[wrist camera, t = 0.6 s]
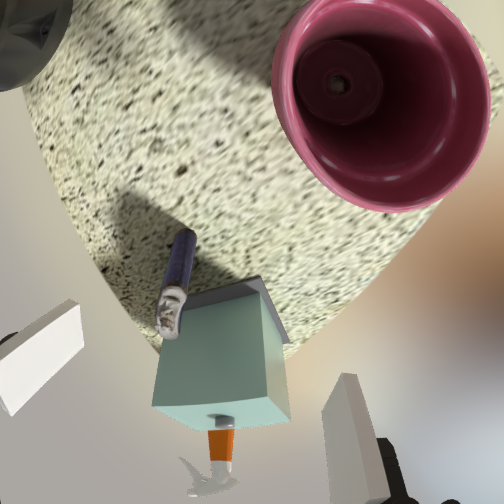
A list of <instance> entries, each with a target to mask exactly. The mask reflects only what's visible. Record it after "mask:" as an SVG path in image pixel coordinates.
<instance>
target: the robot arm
mask: <svg viewBox="0 0 504 504" xmlns="http://www.w3.org/2000/svg"><path fill="white" fill-rule="evenodd" d="M72 7H73V0H0V92H4V91H8V90H11V89H14V88H17V87H20V86H22V85H24V84H26V83H28V82H29V81H30V80H32V79H33V78H34V77H35V76H36V75H37V74H38V73H39V72H40V71H41V70H42V69H43V68H44V67H45V66H46V64H47V63H48V62H49V60H50V59H51V58H52V56H53V55H54V53H55V51H56V50H57V48H58V46H59V44H60V42H61V40H62V38H63V36H64V34H65V31H66V29H67V26H68V23H69V20H70V17H71V13H72ZM82 347H84V340H83V333H82V325H81V316H80V305H79V303H77V302H75V301H72V300H70V299H68V300H67V301H65V302H64V303H62V304H61V305H59V306H57V307H56V308H54V309H53V310H51V311H50V312H48V313H47V314H45V315H44V316H42V317H41V318H39V319H38V320H36V321H35V322H33V323H32V324H30V325H29V326H27V327H26V328H24V329H23V330H21V331H20V332H15V333H13V334H9V335H7V336H6V337H4V338H3V339H2V340H1V341H0V405H1V407H2V408H3V409H4V410H5V411H6V412H7V413H8V414H9V415H11V416H13V415H14V414H15V413H16V412H17V411H18V410H19V409H20V408H21V407H22V406H23V404H24V403H26V402H27V401H28V400H29V398H31V397H32V396H33V394H35V393H36V392H37V390H39V389H40V388H41V386H43V384H45V383H46V382H47V381H48V380H49V379H50V378H51V377H52V376H53V375H54V374H55V373H56V372H57V371H58V370H59V369H60V368H61V367H62V366H63V365H65V364H66V363H67V362H68V361H69V360H70V359H71V358H72V357H73V356H74V355H75V354H76V353H77V352H78V351H79V350H80V349H82ZM322 420H323V428H324V437H325V447H326V455H327V466H328V477H329V490H330V502H331V503H330V504H419V503H418V501H416V500H415V499H413V498H410V497H409V496H408V494H407V491H406V487H405V484H404V480H403V477H402V473H401V470H400V466H398V465H399V463H398V460H397V458H396V457H397V456H396V453H395V450H394V447H393V445H392V444H391V443H390V442H389V440H388V439H387V438H376V436H375V433H374V429H373V426H372V422H371V419H370V415H369V412H368V409H367V406H366V402H365V399H364V396H363V393H362V390H361V387H360V384H359V381H358V377H357V374H348V373H341V375H340V377H339V379H338V381H337V383H336V385H335V387H334V389H333V391H332V393H331V395H330V397H329V399H328V401H327V403H326V404H325V406H324V408H323V410H322ZM0 504H1V502H0ZM442 504H460V503H459V502H458V501H456V500H454V499H450V500H447V501H445V502H443V503H442Z"/></svg>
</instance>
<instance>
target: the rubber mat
mask: <svg viewBox="0 0 504 504" xmlns="http://www.w3.org/2000/svg"><path fill="white" fill-rule="evenodd" d="M256 293H260V294H261V296H262V298H263V300H264V302H265V304H266V306H267V308H268V310H269V312H270V314H271V317H272V319H273V321H274V323H275V325H276V327H277V329H278V331H279V333H280V335H281V338H282V344H286V343H290V340H289V338H288V336H287V333H286V331H285V329H284V327H283V325H282V322H281V320H280V318H279V316H278V314H277V311H276V309H275V307H274V305H273V303H272V300H271V298H270V296H269V294H268V291H267V289H266V287H265V285H264V283H263V280H262V278H261V276H259V277H256V278H252V279H249V280H245V281H241V282H238V283H234V284H230V285H226V286H223V287H219V288H215V289H211V290H208V291H204V292H200V293H196V294H192V295H188V296H187V299H186V301H185V303H184V307H183V311H188V310H192V309H196V308H200V307H204V306H209V305H213V304H217V303H221V302H225V301H229V300H233V299H237V298H241V297H245V296H248V295H252V294H256ZM155 307H157V304H155Z"/></svg>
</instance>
